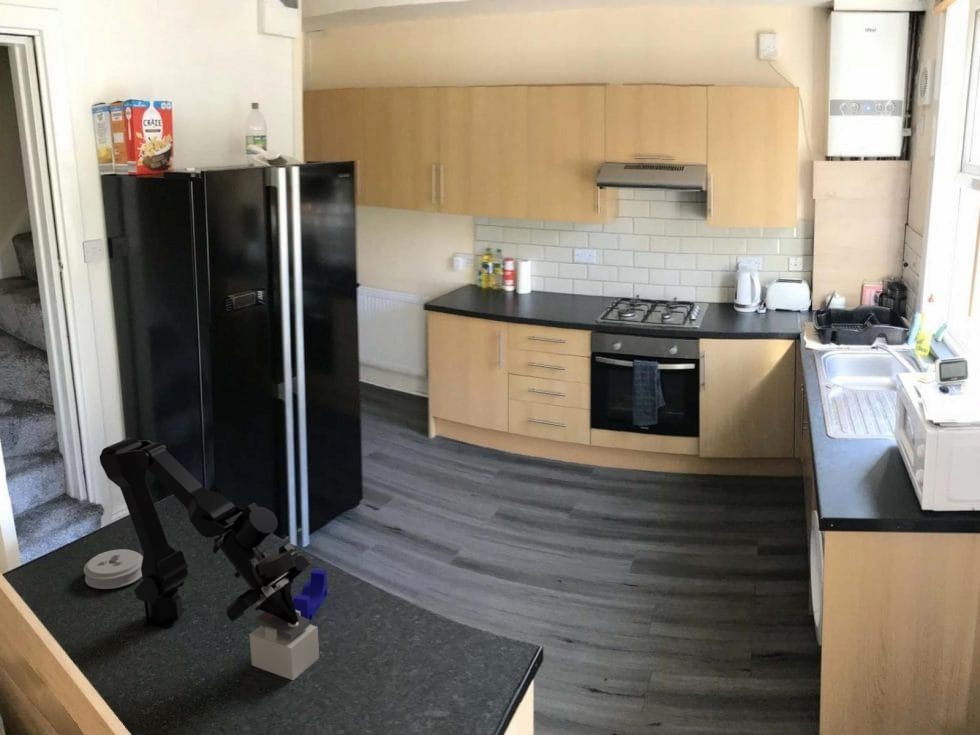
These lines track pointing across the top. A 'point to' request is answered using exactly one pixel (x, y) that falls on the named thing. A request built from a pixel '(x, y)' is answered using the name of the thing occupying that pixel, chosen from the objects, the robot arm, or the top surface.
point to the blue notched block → (312, 594)
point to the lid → (113, 569)
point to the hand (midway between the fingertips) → (296, 623)
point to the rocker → (283, 625)
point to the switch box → (284, 650)
